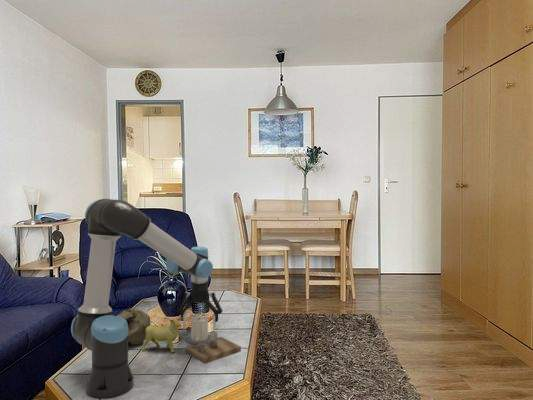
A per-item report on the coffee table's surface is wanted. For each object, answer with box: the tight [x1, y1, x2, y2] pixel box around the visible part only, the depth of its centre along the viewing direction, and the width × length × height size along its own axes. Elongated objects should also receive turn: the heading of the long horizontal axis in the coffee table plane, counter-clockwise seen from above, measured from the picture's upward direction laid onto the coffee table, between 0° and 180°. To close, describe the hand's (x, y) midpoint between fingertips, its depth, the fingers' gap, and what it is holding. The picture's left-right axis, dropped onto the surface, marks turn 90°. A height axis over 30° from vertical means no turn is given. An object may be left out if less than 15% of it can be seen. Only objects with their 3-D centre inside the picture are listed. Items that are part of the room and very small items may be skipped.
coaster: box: [186, 334, 210, 345], centre depth 186 cm, size 11×11×1 cm
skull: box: [116, 307, 151, 346], centre depth 181 cm, size 15×22×15 cm
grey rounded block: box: [190, 315, 209, 342], centre depth 185 cm, size 8×7×9 cm
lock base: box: [185, 331, 242, 364], centre depth 173 cm, size 18×14×8 cm
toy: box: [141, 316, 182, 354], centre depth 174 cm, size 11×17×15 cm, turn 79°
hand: (199, 328), depth 186 cm, fingers open, 13 cm apart
